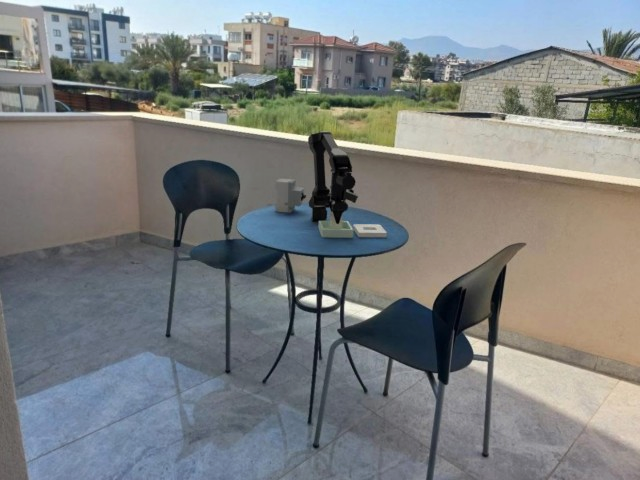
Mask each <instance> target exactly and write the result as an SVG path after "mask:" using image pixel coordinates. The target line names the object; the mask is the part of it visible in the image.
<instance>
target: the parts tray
mask: <svg viewBox="0 0 640 480" xmlns="http://www.w3.org/2000/svg"><path fill="white" fill-rule="evenodd" d="M318 231H319V233H320V236H321V238H339V239H340V238H346V239H348V238H349V239H351V238H352V239H353V238H354V232H355V231H354V229H353V227H352V225H351V224H350V222H349V220H342V229H329V220H326V221H319V222H318Z"/></svg>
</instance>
